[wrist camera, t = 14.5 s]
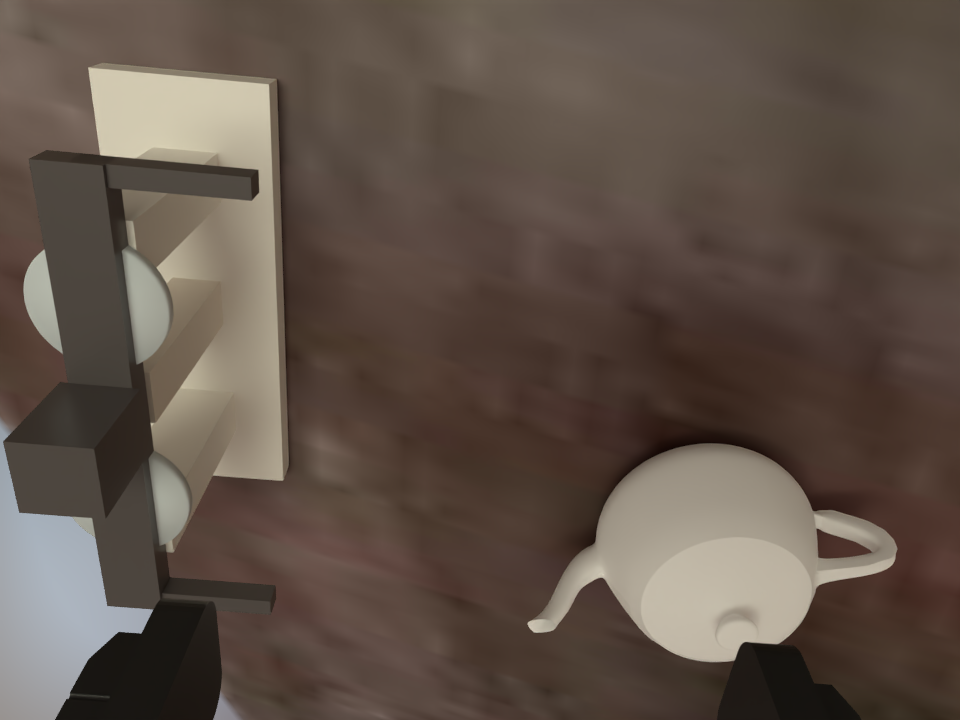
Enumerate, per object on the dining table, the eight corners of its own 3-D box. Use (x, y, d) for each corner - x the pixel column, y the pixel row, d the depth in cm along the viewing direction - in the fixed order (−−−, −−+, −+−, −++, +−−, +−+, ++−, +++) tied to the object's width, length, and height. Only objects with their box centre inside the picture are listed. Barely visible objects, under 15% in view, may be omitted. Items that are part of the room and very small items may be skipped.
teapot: (538, 604, 53) (548, 742, 44) (504, 451, 47) (508, 573, 38) (850, 562, 51) (928, 697, 42) (855, 396, 45) (946, 512, 36)
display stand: (102, 62, 37) (-45, 112, 27) (276, 78, 37) (196, 133, 27) (153, 454, 47) (60, 597, 37) (288, 465, 47) (233, 610, 37)
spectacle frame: (4, 146, 27) (-94, 189, 23) (258, 169, 27) (212, 217, 23) (87, 584, 37) (29, 677, 32) (275, 598, 37) (245, 692, 32)
